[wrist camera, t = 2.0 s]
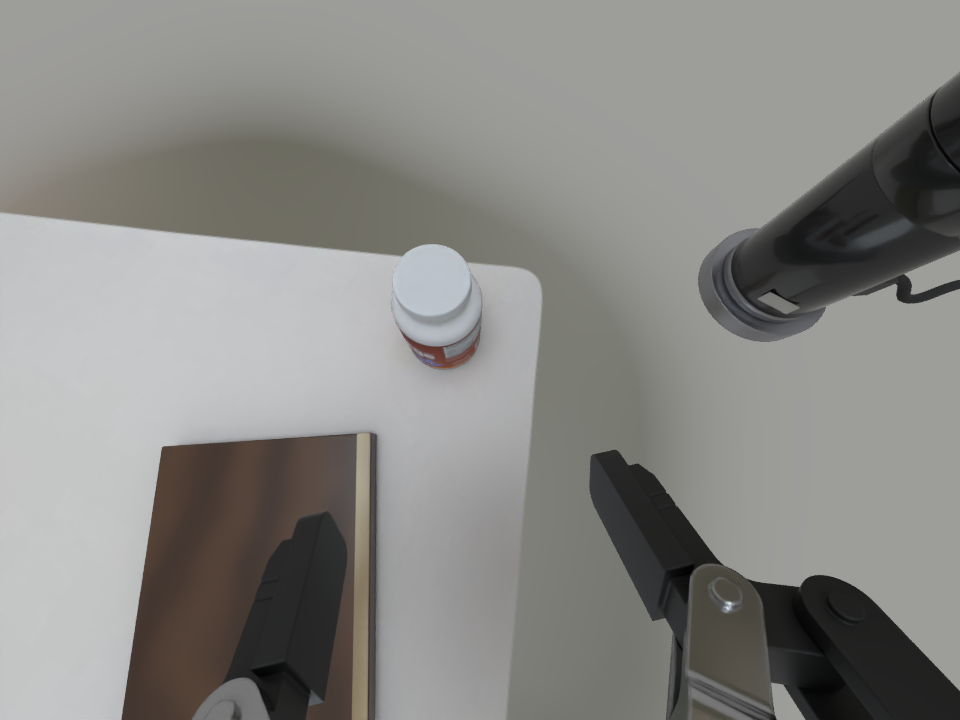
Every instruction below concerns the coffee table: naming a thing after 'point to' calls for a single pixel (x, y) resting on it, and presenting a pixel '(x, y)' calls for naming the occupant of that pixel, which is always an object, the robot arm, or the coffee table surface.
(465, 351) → the pill bottle
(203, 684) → the board
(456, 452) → the coffee table surface
